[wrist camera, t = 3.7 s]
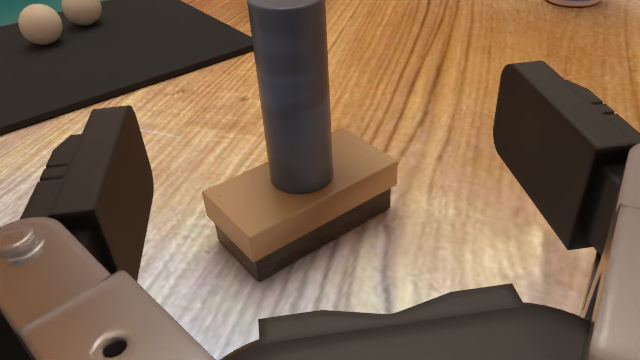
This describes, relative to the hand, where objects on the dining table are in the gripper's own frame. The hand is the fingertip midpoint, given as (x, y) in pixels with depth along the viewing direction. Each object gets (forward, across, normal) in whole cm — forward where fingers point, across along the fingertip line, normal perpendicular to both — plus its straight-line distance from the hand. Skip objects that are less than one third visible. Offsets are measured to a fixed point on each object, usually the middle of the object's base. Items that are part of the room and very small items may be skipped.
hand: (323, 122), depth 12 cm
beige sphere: (+39, +16, +9) cm, 44 cm away
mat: (+34, +17, +11) cm, 39 cm away
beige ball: (+36, +19, +9) cm, 41 cm away
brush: (+10, 0, +11) cm, 14 cm away
